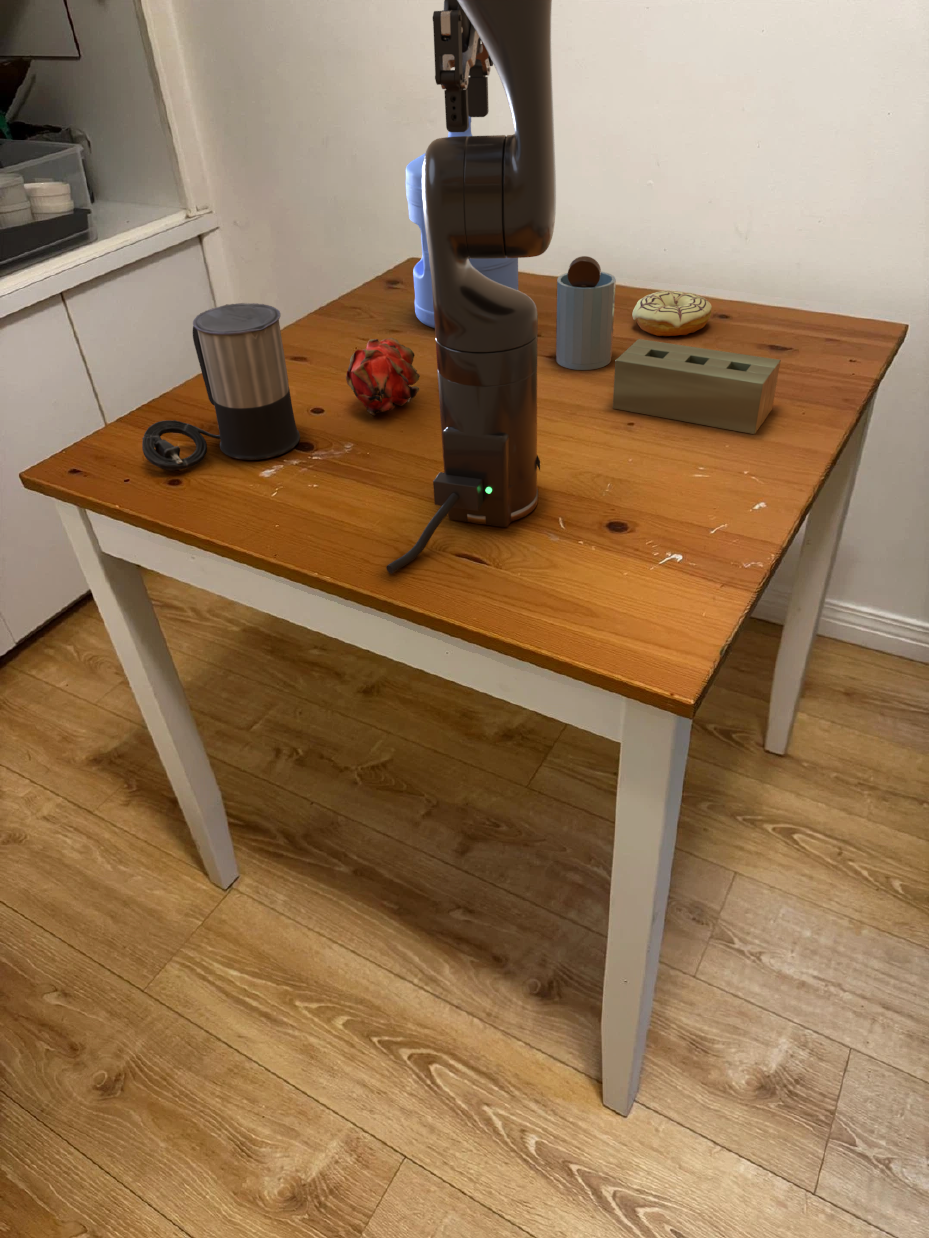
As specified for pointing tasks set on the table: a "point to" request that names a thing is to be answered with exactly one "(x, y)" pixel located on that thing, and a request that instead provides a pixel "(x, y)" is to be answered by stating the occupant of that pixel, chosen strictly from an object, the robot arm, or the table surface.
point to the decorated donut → (672, 313)
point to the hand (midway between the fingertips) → (468, 124)
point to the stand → (696, 385)
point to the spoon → (584, 272)
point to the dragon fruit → (382, 375)
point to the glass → (585, 323)
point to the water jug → (490, 267)
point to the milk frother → (236, 389)
